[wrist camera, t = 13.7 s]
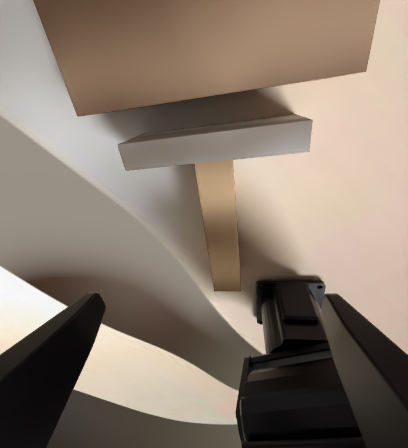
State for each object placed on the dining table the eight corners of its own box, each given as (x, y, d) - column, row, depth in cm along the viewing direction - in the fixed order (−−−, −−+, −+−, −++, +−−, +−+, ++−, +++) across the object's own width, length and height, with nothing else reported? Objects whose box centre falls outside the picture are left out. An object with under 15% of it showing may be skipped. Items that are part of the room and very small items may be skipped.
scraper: (284, 267, 21) (293, 300, 18) (176, 269, 23) (166, 299, 20) (294, 114, 15) (312, 120, 11) (141, 134, 17) (117, 144, 13)
